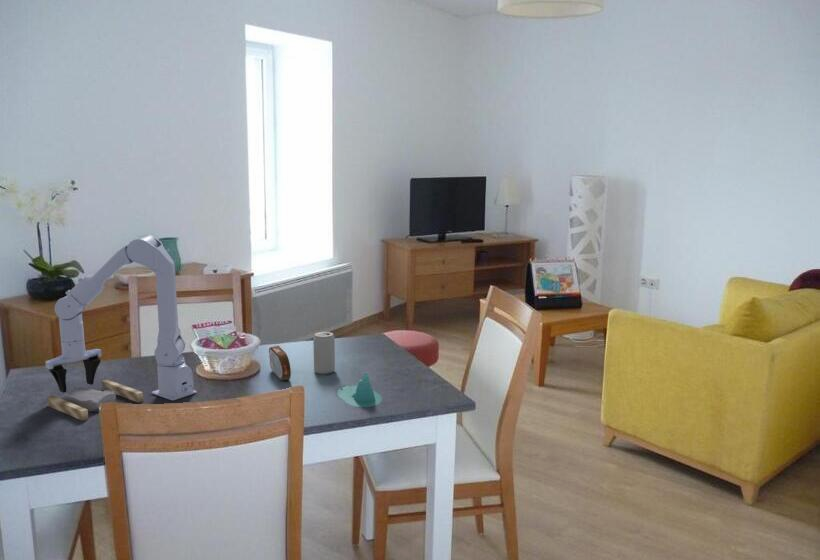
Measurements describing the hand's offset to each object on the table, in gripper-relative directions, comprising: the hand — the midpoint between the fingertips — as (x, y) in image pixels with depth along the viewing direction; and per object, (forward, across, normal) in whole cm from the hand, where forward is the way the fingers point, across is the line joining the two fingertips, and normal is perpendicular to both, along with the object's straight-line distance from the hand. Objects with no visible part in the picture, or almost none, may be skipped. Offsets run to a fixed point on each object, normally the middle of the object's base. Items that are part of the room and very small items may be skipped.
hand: (76, 387), depth 189 cm
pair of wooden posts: (+2, 0, +9) cm, 9 cm away
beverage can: (+3, -56, +40) cm, 69 cm away
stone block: (+3, +1, +8) cm, 9 cm away
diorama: (+3, -47, +61) cm, 77 cm away
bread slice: (+3, -45, +32) cm, 55 cm away
